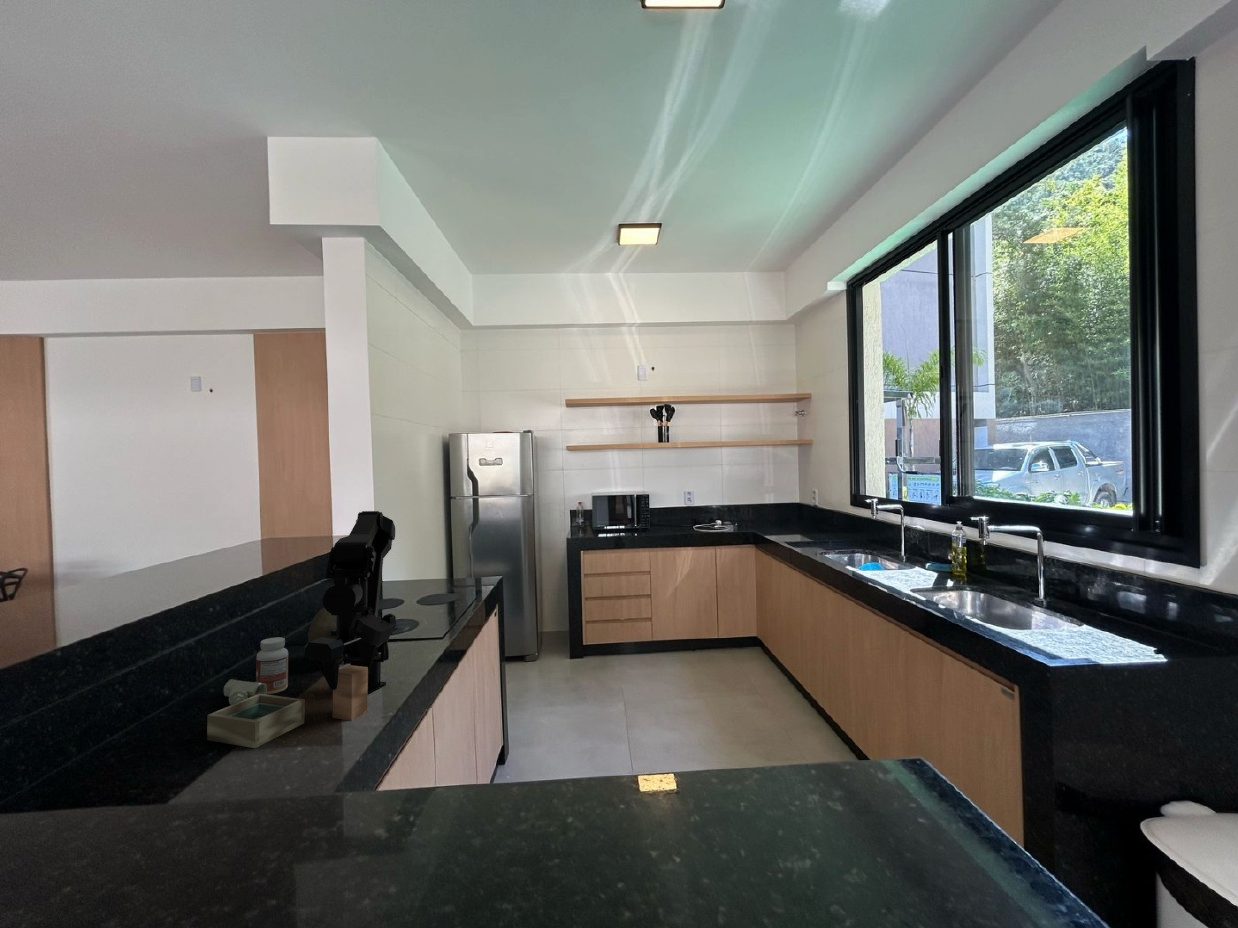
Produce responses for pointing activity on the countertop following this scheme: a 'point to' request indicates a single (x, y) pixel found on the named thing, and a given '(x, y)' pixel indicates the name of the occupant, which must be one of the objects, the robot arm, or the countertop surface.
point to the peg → (351, 693)
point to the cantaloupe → (322, 626)
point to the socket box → (255, 720)
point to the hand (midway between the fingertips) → (350, 681)
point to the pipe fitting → (243, 690)
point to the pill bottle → (272, 665)
